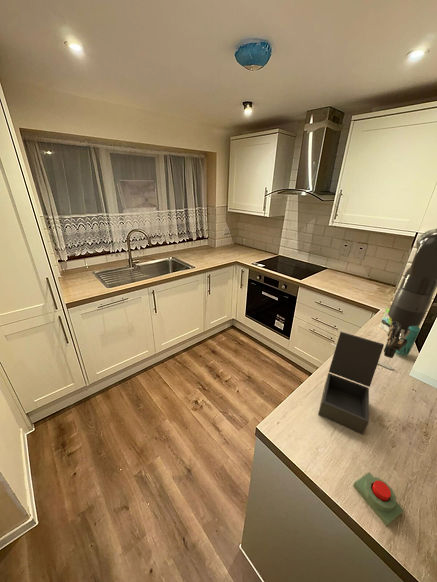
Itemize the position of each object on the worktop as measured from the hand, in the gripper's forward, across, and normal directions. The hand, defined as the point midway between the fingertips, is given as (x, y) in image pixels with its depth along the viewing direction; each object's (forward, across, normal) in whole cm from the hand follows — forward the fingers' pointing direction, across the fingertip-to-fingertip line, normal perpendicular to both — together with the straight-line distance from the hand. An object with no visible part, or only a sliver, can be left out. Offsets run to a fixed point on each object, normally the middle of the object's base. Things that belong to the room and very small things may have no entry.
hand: (387, 354), depth 71 cm
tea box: (+27, +72, -16) cm, 78 cm away
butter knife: (+27, +35, +2) cm, 44 cm away
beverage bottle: (+27, +48, -15) cm, 57 cm away
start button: (+24, -26, -4) cm, 35 cm away
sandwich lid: (+12, +9, +6) cm, 16 cm away
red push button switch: (+27, -26, -4) cm, 38 cm away
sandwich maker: (+27, 0, +6) cm, 28 cm away
